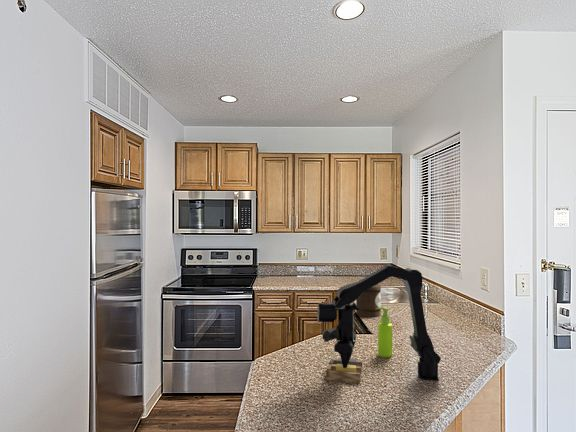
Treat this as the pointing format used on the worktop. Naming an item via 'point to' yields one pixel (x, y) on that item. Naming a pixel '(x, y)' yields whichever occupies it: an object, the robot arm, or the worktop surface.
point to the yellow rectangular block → (349, 368)
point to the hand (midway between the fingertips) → (345, 365)
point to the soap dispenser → (384, 335)
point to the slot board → (341, 375)
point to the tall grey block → (351, 361)
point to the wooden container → (369, 302)
